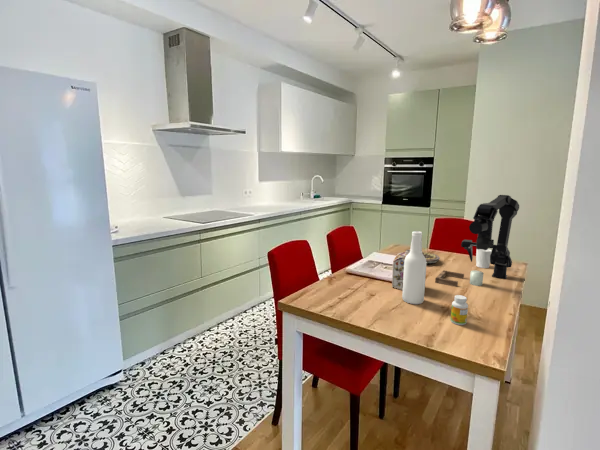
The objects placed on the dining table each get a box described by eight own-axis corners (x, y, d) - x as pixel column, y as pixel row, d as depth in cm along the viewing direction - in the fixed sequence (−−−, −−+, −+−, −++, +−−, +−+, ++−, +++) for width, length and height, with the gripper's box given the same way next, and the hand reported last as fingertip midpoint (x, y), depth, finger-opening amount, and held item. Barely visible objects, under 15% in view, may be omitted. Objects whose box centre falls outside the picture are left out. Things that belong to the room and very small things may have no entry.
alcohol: (413, 306, 137) (417, 234, 132) (397, 299, 145) (401, 230, 140) (428, 302, 141) (433, 232, 136) (412, 295, 149) (416, 229, 144)
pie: (406, 253, 223) (406, 246, 222) (450, 261, 208) (450, 253, 207) (390, 263, 201) (391, 255, 200) (438, 272, 185) (439, 263, 184)
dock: (443, 274, 179) (443, 270, 179) (463, 277, 173) (464, 273, 173) (435, 282, 166) (435, 278, 166) (456, 286, 160) (457, 282, 160)
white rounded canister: (470, 281, 168) (471, 269, 167) (483, 283, 165) (484, 271, 164) (468, 284, 164) (469, 272, 163) (481, 286, 161) (482, 274, 160)
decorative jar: (425, 287, 159) (428, 250, 156) (415, 294, 151) (417, 255, 148) (402, 281, 167) (404, 246, 164) (390, 287, 159) (392, 250, 156)
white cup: (492, 269, 189) (494, 251, 187) (477, 268, 190) (478, 251, 189) (487, 265, 196) (489, 248, 195) (473, 264, 198) (474, 247, 196)
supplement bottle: (447, 319, 126) (449, 294, 124) (461, 318, 126) (463, 294, 125) (455, 325, 121) (457, 300, 119) (469, 325, 121) (472, 299, 119)
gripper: (460, 232, 156) (457, 264, 159) (507, 236, 146) (503, 270, 148) (464, 228, 165) (462, 258, 168) (508, 232, 155) (505, 264, 157)
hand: (482, 263), depth 160 cm, fingers open, 9 cm apart
